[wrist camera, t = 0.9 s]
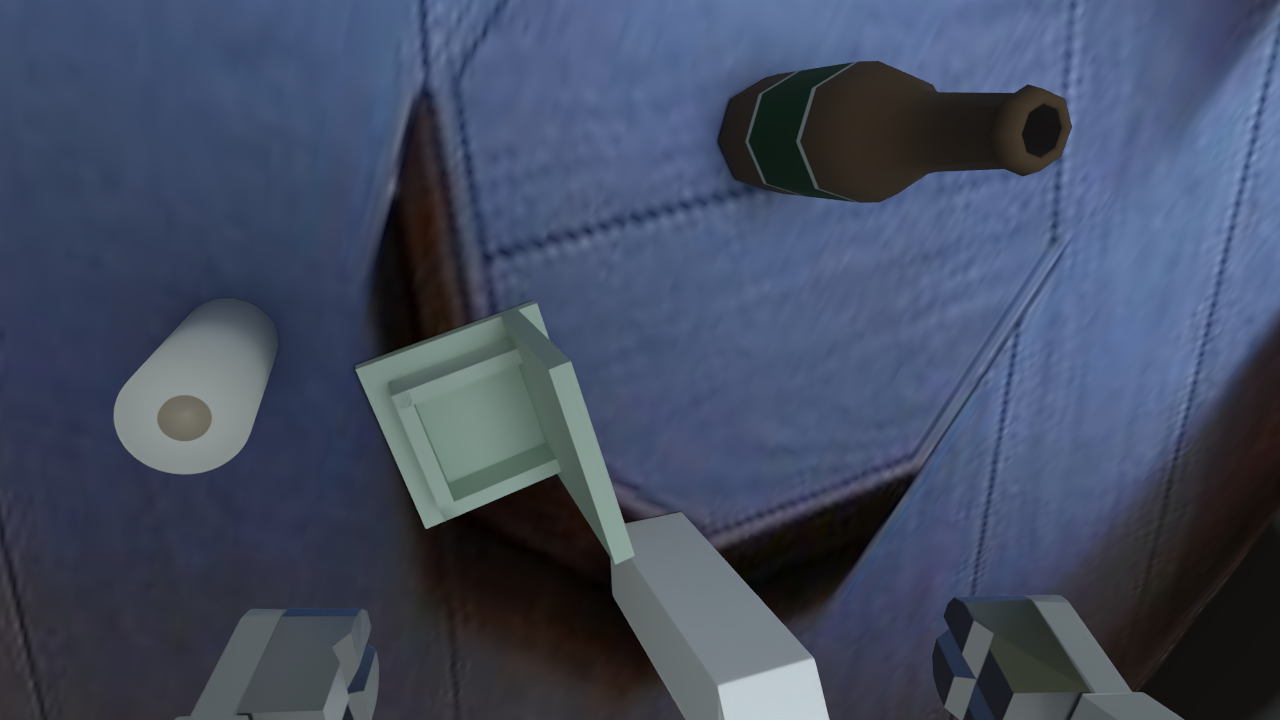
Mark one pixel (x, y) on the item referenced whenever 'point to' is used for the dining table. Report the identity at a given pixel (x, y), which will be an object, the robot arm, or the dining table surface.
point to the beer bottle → (882, 131)
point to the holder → (491, 421)
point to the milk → (711, 630)
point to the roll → (199, 389)
